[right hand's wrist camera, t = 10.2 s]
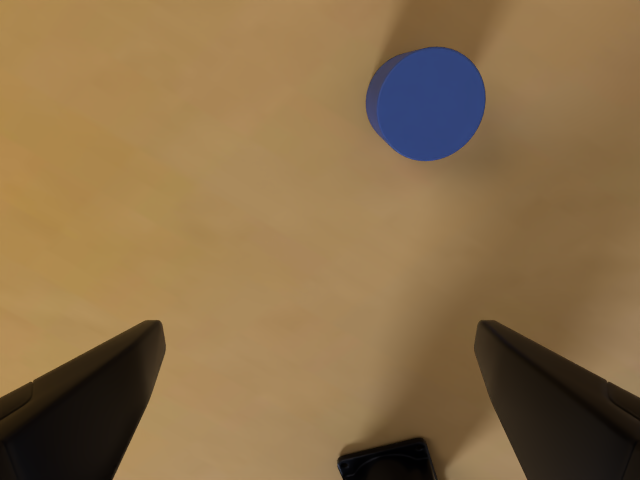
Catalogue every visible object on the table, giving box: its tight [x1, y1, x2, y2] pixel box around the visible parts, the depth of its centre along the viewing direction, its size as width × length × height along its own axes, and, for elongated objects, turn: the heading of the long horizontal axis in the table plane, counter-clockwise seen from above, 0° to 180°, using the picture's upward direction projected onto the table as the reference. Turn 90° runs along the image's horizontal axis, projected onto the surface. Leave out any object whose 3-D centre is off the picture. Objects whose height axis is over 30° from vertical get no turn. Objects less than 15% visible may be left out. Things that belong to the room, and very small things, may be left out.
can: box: [366, 47, 485, 161], centre depth 18 cm, size 4×4×4 cm
